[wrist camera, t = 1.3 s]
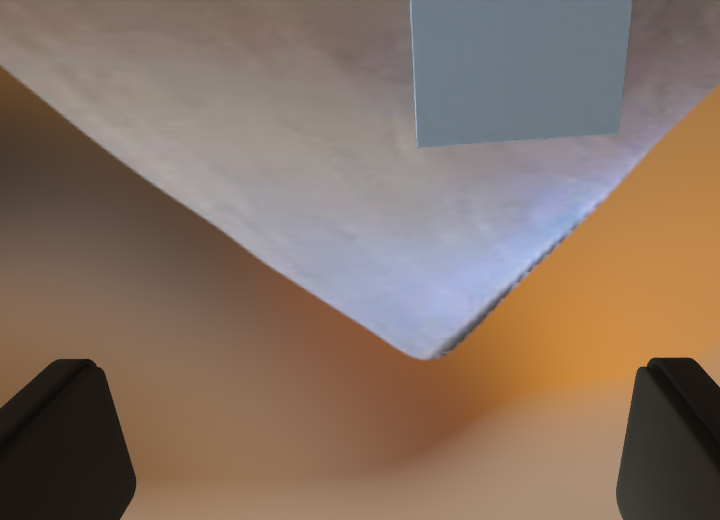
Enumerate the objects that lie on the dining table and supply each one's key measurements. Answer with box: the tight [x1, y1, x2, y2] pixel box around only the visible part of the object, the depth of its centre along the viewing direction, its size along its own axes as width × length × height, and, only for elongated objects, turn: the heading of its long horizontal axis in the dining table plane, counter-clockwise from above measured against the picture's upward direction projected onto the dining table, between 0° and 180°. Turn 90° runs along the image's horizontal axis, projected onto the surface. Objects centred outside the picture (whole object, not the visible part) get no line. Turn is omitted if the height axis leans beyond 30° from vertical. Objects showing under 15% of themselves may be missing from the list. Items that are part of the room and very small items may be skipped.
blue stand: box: [410, 0, 632, 148], centre depth 24 cm, size 8×8×8 cm
